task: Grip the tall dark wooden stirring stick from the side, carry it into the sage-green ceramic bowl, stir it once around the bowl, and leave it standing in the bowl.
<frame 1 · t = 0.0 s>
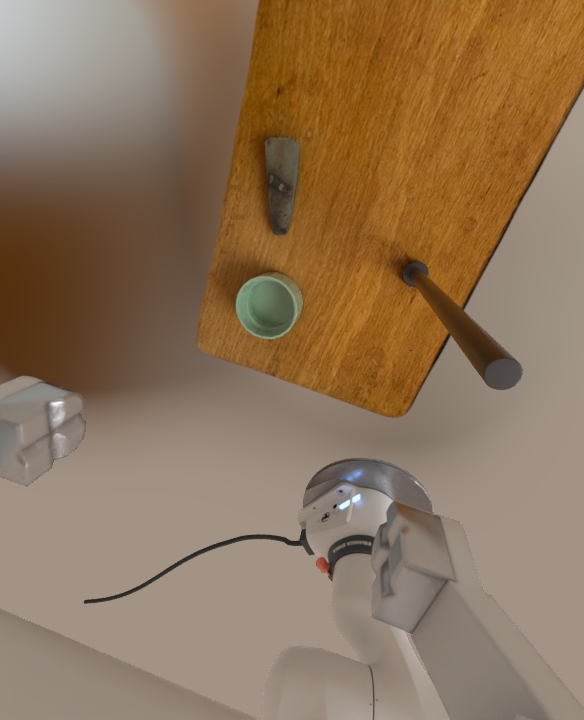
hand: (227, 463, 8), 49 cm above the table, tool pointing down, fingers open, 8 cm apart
bowl: (274, 301, 58), on the table
stone: (279, 188, 51), on the table
stick: (414, 273, 51), on the table
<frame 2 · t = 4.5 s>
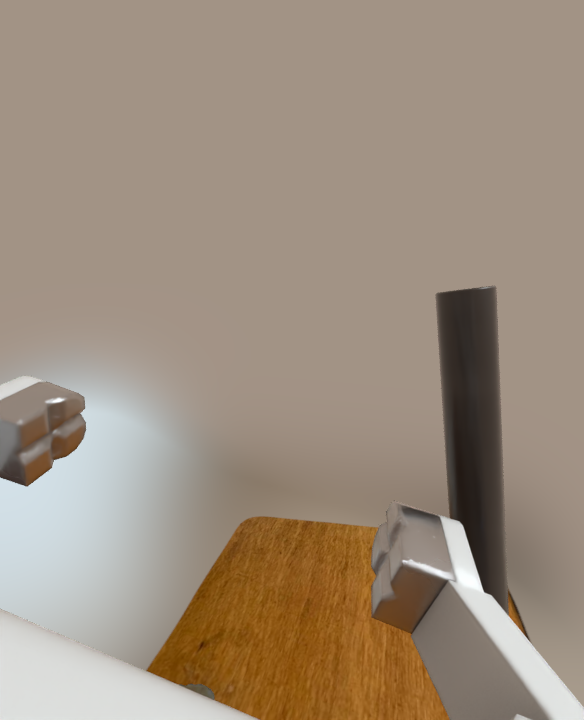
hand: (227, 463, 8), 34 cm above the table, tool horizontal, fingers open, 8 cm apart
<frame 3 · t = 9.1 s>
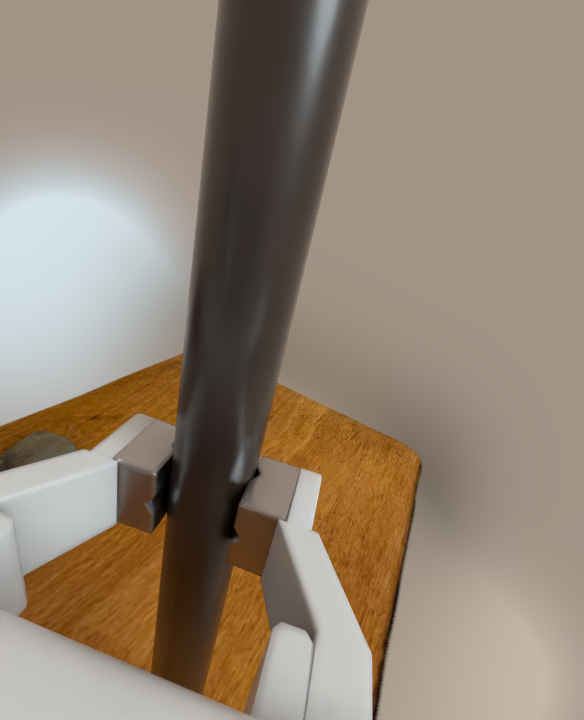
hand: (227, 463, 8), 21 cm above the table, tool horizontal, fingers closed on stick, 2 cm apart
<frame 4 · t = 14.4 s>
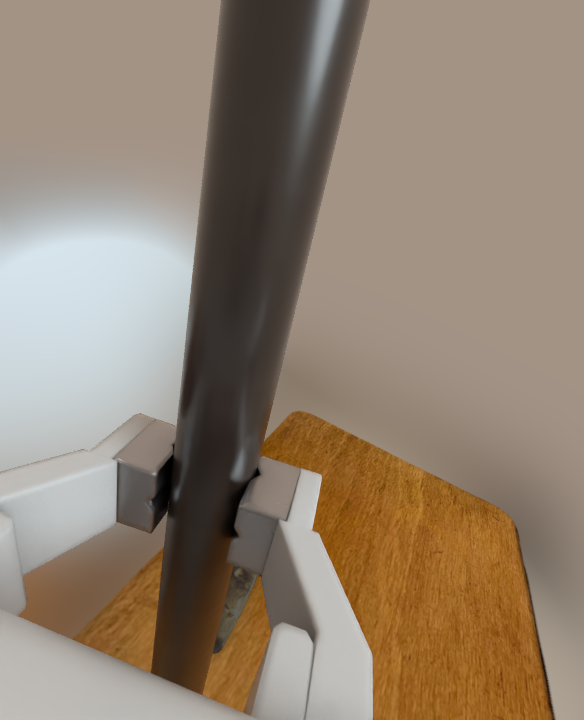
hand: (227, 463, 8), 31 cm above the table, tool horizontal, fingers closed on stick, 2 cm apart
stone: (227, 583, 36), on the table
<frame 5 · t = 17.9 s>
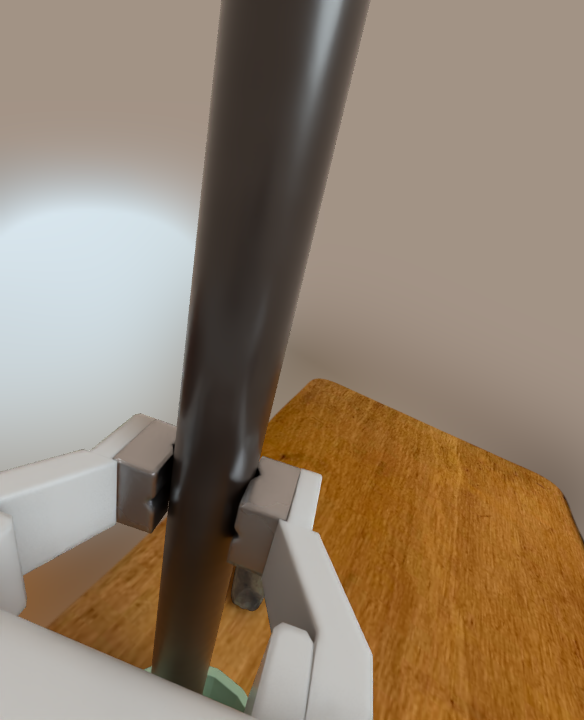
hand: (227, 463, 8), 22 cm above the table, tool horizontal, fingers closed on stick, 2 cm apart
stone: (258, 539, 32), on the table
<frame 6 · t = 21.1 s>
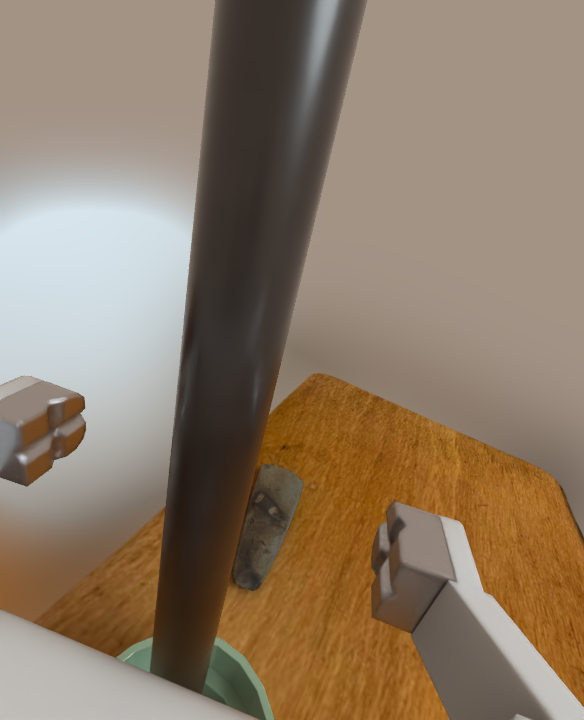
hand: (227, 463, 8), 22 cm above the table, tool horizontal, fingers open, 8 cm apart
stone: (259, 525, 32), on the table
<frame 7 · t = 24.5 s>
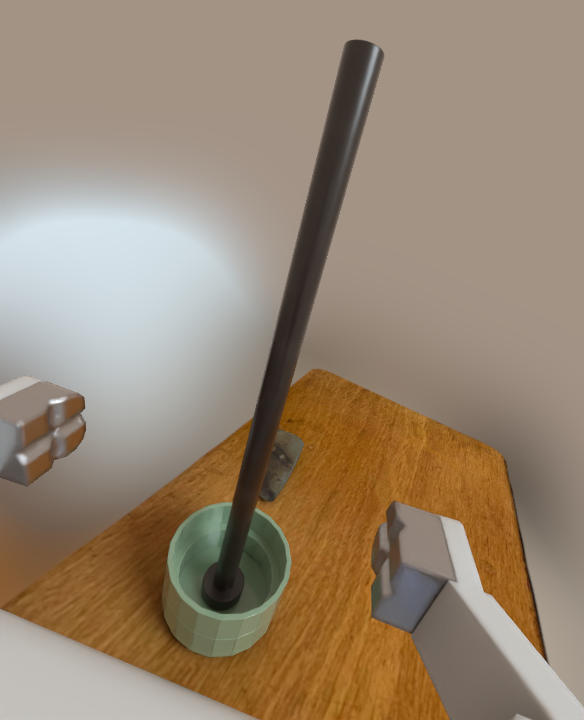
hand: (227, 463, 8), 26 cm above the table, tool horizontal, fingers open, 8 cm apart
bowl: (221, 592, 30), on the table
stone: (272, 468, 46), on the table
stick: (221, 588, 30), point 1 cm above the table, touching bowl
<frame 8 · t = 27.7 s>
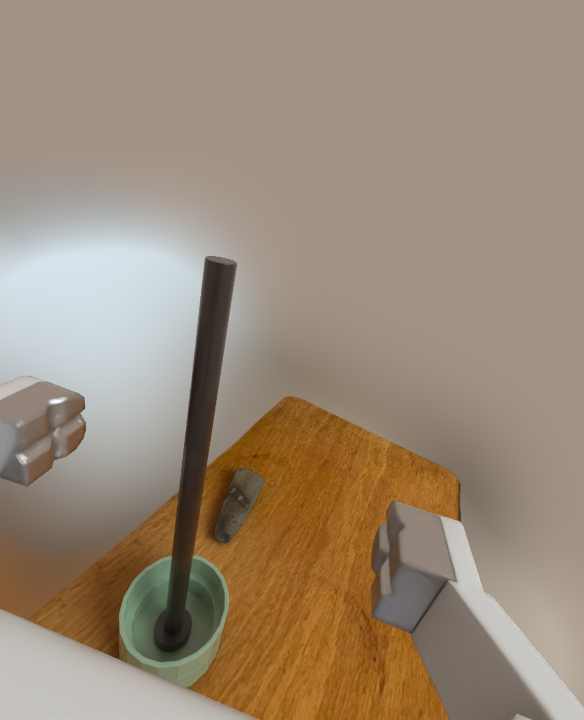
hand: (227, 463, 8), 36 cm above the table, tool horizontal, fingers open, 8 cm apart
bowl: (172, 634, 35), on the table
stone: (232, 507, 51), on the table
stick: (172, 631, 35), point 1 cm above the table, touching bowl
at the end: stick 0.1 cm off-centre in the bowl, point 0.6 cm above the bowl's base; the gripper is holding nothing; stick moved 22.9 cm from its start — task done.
